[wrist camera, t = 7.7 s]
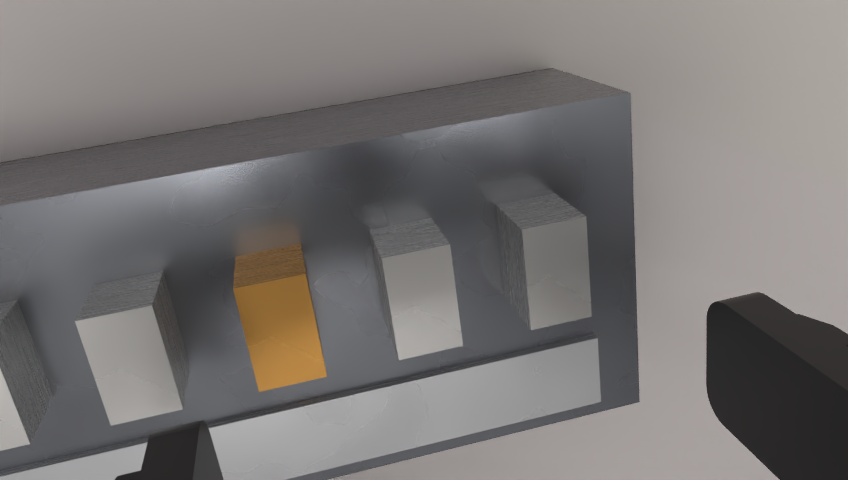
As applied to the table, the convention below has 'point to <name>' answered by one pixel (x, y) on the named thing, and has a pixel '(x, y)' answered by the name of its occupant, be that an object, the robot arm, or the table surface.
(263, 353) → the breaker strip
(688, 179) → the table surface
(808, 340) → the robot arm
